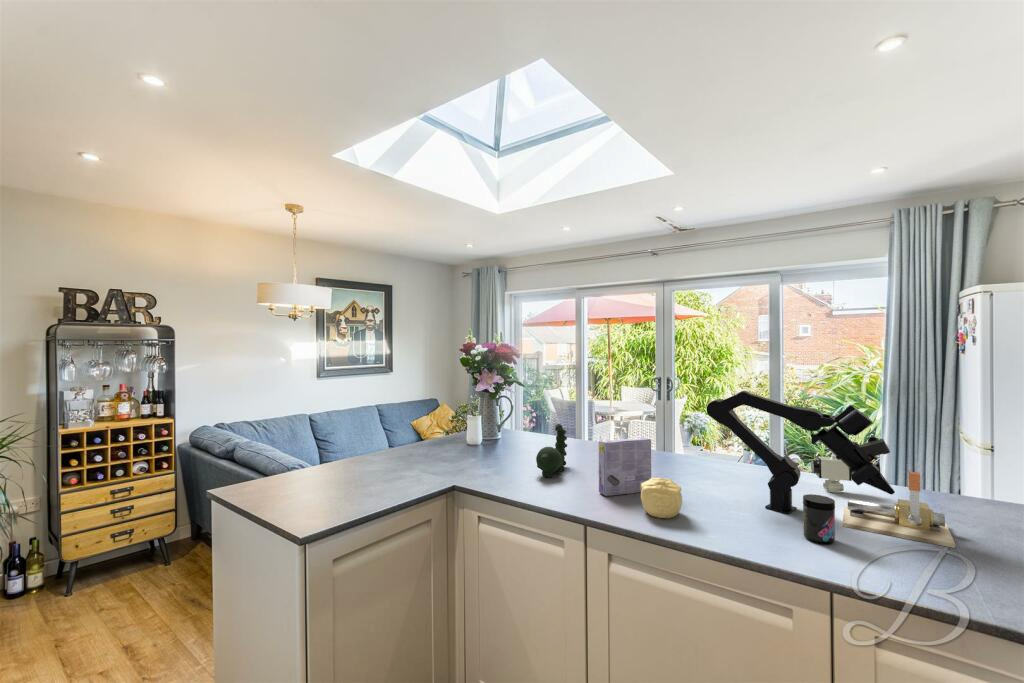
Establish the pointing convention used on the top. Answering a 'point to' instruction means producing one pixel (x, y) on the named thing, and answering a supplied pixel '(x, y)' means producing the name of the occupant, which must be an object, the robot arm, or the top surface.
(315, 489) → the top surface
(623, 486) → the cake pan box
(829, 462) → the pneumatic valve
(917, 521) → the valve lever
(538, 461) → the toy figurine
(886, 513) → the valve pipe
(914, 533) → the mounting board
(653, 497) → the sculpture
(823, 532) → the supplement container
